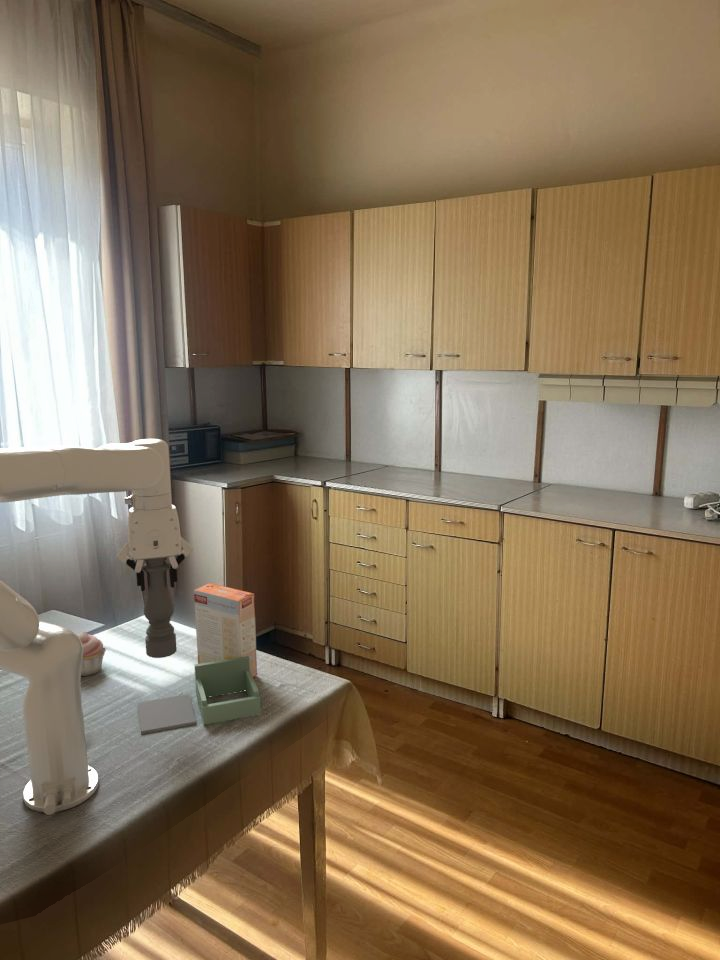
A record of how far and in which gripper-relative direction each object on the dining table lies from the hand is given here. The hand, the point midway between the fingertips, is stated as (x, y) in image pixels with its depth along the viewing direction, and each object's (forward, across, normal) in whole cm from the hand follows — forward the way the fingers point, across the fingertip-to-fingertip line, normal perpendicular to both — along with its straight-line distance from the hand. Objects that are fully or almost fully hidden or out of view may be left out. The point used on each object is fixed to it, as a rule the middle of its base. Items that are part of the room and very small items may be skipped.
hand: (157, 586), depth 150 cm
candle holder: (+15, 0, 0) cm, 15 cm away
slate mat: (+29, 0, 0) cm, 29 cm away
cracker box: (+29, +16, +14) cm, 36 cm away
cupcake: (+29, -16, +27) cm, 43 cm away
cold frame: (+29, +13, -1) cm, 32 cm away
